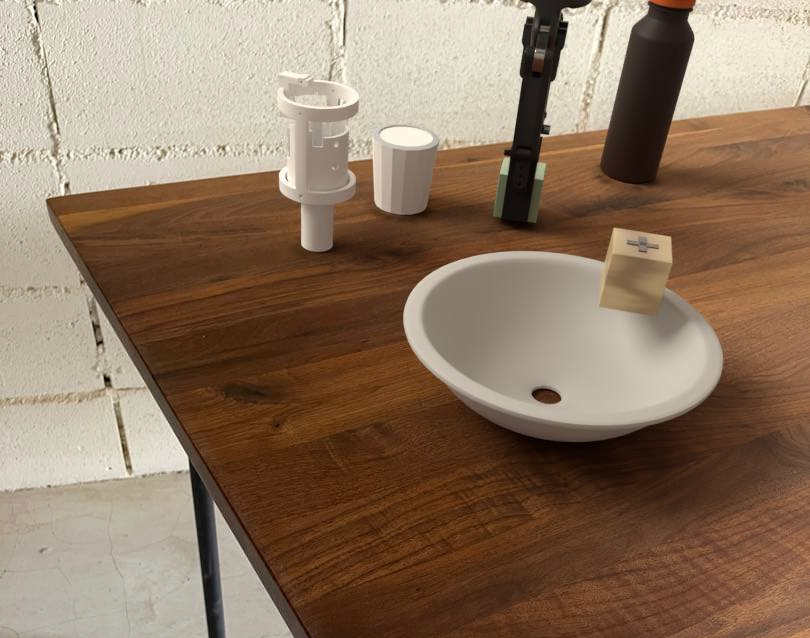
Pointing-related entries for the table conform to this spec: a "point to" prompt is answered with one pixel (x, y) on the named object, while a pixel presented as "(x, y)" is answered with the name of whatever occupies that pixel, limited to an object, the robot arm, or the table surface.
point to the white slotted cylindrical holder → (316, 153)
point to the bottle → (648, 91)
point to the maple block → (635, 271)
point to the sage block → (535, 193)
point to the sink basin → (558, 347)
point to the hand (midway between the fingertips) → (516, 207)
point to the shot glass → (403, 167)
